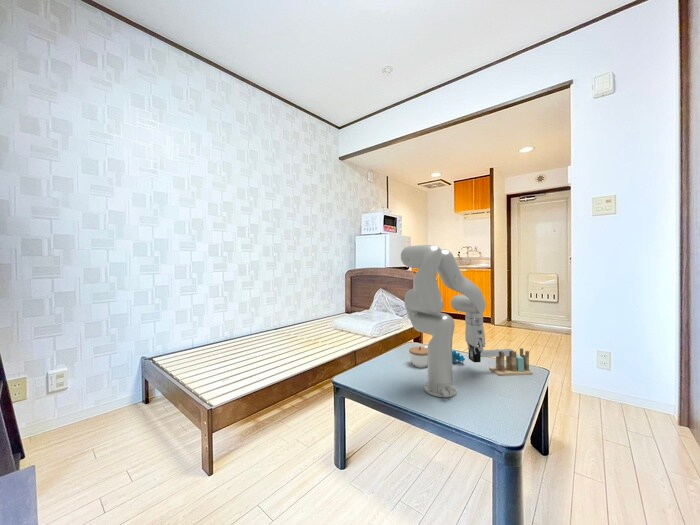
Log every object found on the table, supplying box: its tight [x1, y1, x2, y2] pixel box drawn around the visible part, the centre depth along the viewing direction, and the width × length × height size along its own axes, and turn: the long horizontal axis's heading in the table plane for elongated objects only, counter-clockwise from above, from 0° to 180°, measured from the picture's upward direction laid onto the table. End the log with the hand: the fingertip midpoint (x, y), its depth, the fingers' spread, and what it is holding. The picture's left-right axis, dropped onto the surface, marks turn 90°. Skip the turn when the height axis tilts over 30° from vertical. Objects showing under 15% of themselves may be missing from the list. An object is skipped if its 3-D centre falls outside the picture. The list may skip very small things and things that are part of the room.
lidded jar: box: [408, 345, 428, 368], centre depth 144 cm, size 11×11×9 cm
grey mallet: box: [468, 347, 514, 362], centre depth 133 cm, size 4×20×6 cm, turn 95°
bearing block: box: [488, 347, 533, 377], centre depth 134 cm, size 8×16×10 cm, turn 95°
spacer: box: [516, 353, 524, 371], centre depth 135 cm, size 6×2×6 cm, turn 175°
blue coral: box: [452, 349, 466, 365], centre depth 146 cm, size 11×6×10 cm
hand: (474, 359), depth 133 cm, fingers closed on grey mallet, 3 cm apart
